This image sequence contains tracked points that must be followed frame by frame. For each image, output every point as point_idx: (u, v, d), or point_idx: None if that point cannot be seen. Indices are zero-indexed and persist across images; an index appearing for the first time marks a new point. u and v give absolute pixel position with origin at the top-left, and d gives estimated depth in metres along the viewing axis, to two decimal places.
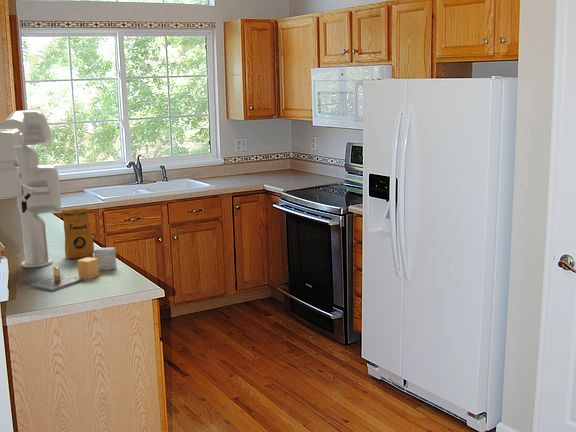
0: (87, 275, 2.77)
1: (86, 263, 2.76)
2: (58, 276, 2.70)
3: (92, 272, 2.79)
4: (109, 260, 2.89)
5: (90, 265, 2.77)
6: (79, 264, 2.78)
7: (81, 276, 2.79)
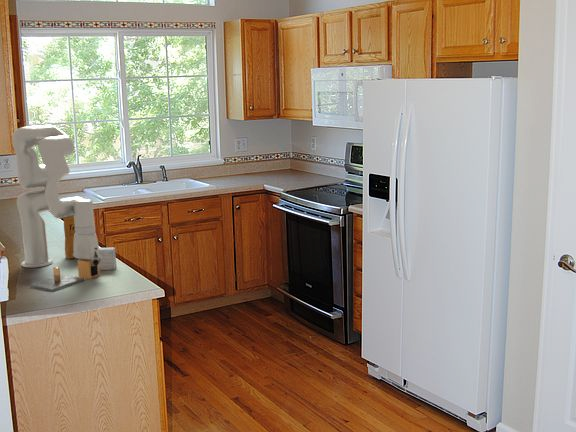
0: (87, 275, 2.77)
1: (86, 263, 2.76)
2: (58, 276, 2.70)
3: None
4: (109, 260, 2.89)
5: (90, 265, 2.77)
6: (79, 264, 2.78)
7: (81, 276, 2.79)
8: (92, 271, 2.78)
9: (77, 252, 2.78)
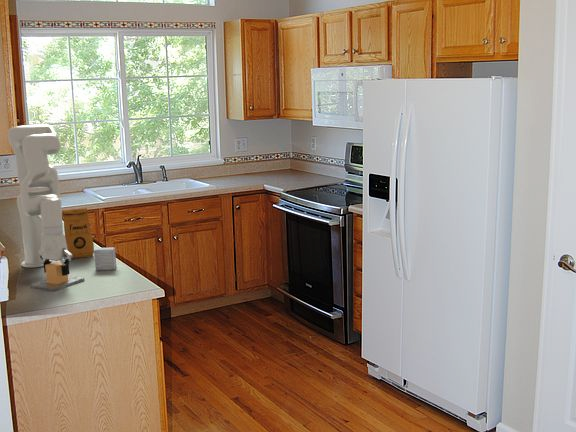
0: (55, 280, 2.68)
1: (54, 268, 2.67)
2: None
3: (60, 277, 2.69)
4: (109, 260, 2.89)
5: (58, 270, 2.68)
6: (47, 269, 2.69)
7: (49, 282, 2.69)
8: (63, 270, 2.67)
9: (44, 253, 2.68)
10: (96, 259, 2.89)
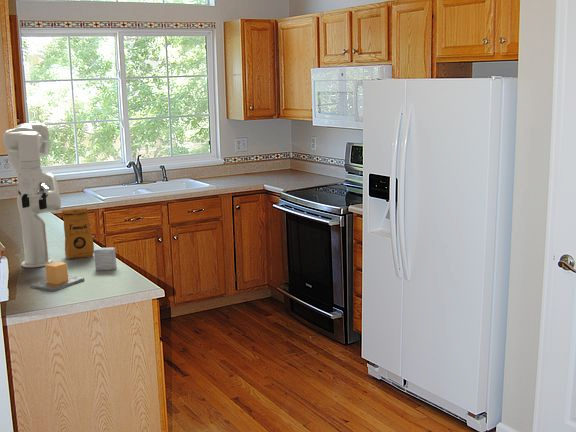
0: (55, 280, 2.68)
1: (54, 268, 2.67)
2: None
3: (60, 277, 2.69)
4: (109, 260, 2.89)
5: (58, 270, 2.68)
6: (47, 269, 2.69)
7: (49, 282, 2.69)
8: (40, 204, 2.72)
9: (22, 187, 2.73)
10: (96, 259, 2.89)
